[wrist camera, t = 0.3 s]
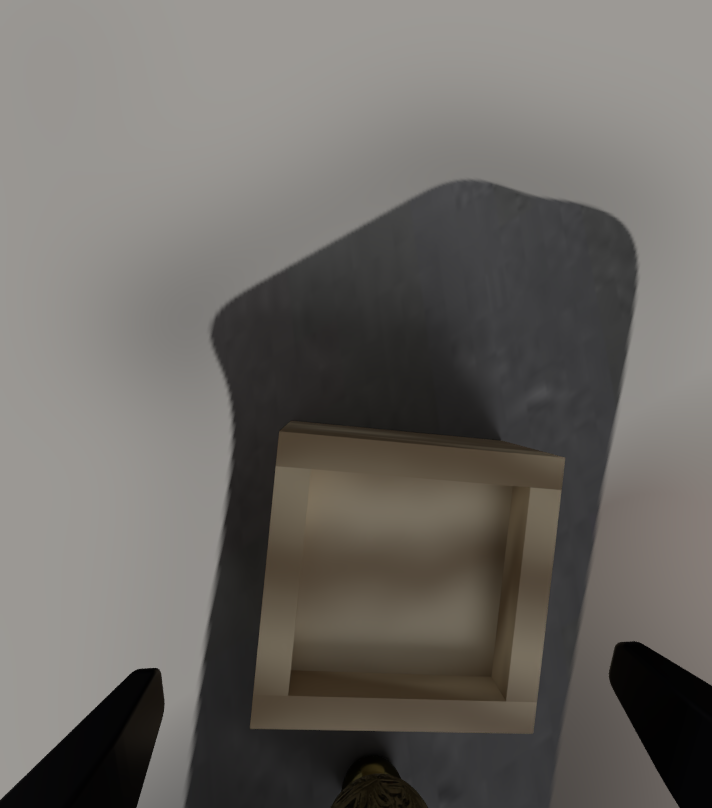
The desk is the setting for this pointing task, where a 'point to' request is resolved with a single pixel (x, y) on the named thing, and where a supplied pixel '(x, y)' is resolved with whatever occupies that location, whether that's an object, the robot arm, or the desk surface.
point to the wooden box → (405, 582)
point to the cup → (376, 787)
